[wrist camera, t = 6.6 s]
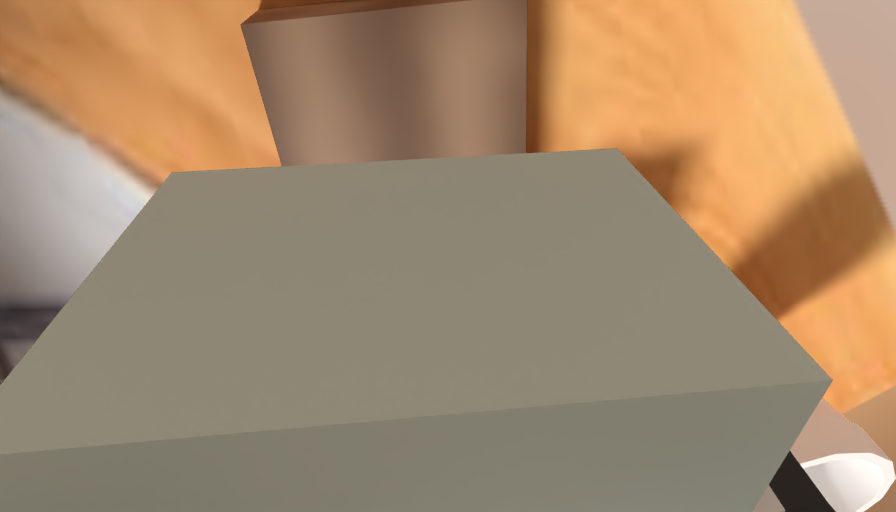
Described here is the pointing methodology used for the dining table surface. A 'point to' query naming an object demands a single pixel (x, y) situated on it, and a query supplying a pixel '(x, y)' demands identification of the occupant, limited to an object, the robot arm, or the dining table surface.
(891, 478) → the foam cup
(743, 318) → the sage brick
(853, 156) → the dining table surface
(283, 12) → the walnut base
